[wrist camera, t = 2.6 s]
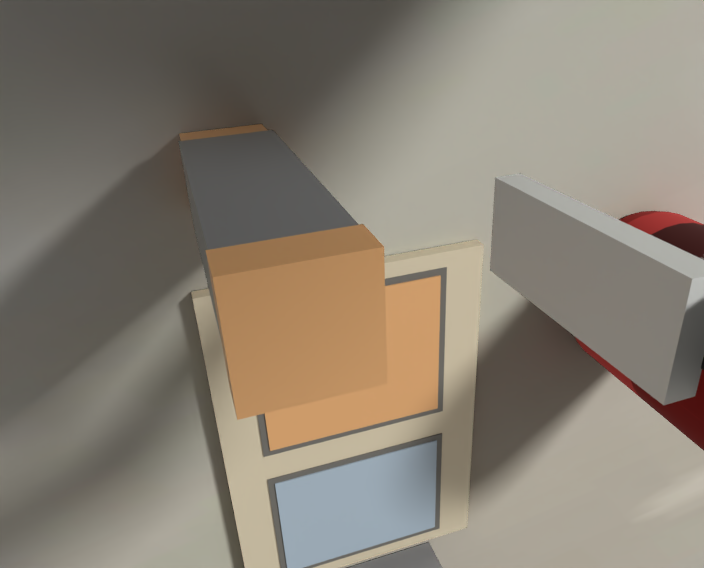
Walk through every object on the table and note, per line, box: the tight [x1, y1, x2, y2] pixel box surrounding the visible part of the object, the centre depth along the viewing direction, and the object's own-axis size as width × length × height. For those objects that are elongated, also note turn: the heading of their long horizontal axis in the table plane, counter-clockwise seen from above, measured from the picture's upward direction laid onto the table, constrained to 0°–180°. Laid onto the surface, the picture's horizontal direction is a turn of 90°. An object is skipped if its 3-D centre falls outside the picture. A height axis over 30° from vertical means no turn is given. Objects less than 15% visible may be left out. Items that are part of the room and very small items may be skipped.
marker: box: [178, 124, 387, 420], centre depth 16 cm, size 3×3×12 cm
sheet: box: [191, 240, 484, 568], centre depth 28 cm, size 17×12×1 cm
